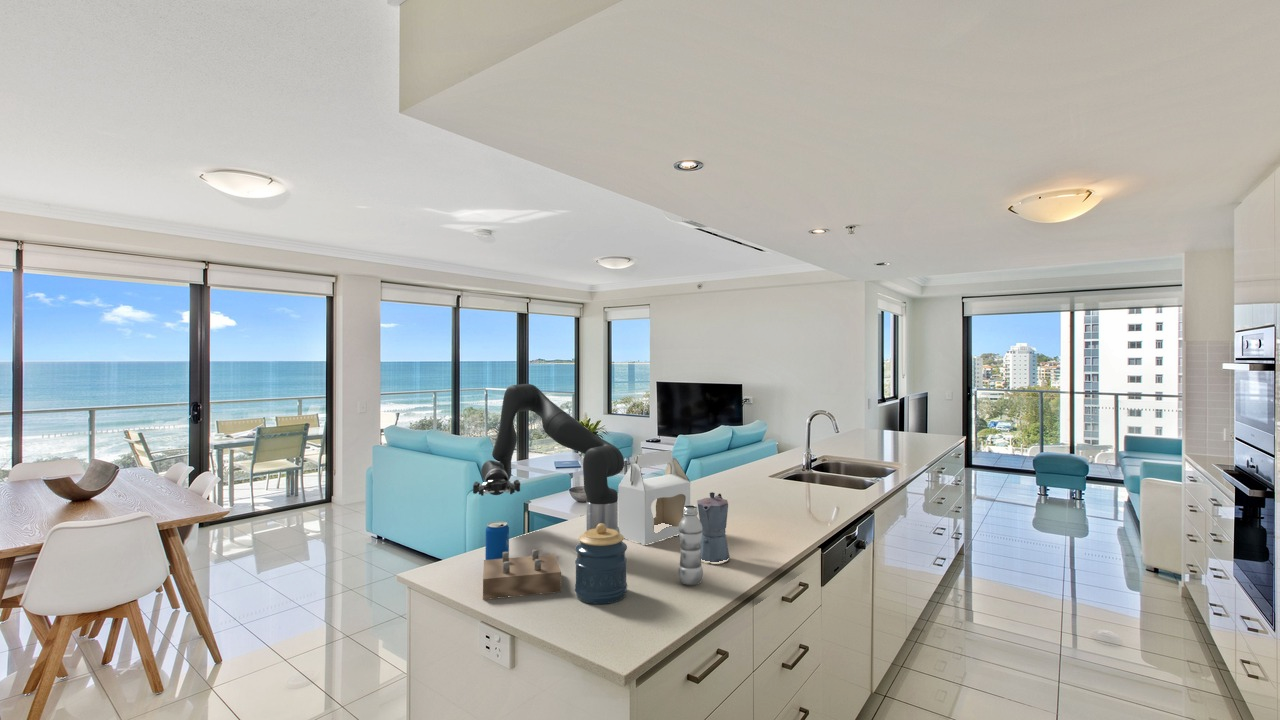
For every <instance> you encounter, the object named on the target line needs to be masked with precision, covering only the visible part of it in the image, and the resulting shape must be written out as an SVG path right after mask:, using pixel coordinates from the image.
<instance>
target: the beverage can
mask: <svg viewBox="0 0 1280 720" xmlns="http://www.w3.org/2000/svg"><path fill="white" fill-rule="evenodd" d="M486 525H487V526H486V528H485V553H484V555H485V556H484V557H485V559H484V560H491V559H503V552H509V553H510V527H509V525H508V522H507V521H500V520H499V521H491V522H489V523H486Z"/></svg>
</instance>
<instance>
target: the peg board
mask: <svg viewBox="0 0 1280 720" xmlns="http://www.w3.org/2000/svg"><path fill="white" fill-rule="evenodd" d="M539 551H540V549H532V555H529V556H518V557H517V556H515V557H510V551H509V552H503V559H491V560H485V559H483V573H482V574H483V575H482V600H483V599H485V600H491V599H490V598H495V599H499V598H498V597H505V598H509V597H508V596H515V597H521V596H520V595H525V596H534V595H533V594H535V595H541V594H540V593H545V594H552V593H553V592H555V593H561V592H562V571H561V568H560V564H559V561H558V558H557V556H556V554H554V553H553V554H541V555H539V553H540V552H539Z"/></svg>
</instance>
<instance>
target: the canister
mask: <svg viewBox="0 0 1280 720" xmlns="http://www.w3.org/2000/svg"><path fill="white" fill-rule="evenodd" d="M624 540H625V539H624V536H623V535H622V534H620V533H618V531H616V530H614V529H609V528H606V525H605V524H603V523H599V524H598V525H597V526H596V529H590V530H587V529H586V530H585V531H584V533H582V534H580V535H579V536H578V541H579V543H577V544H576V545H575V548H574V549H575V551H576V553H577V554H576V558H575V560H574V562H575V585H574V591H575V596H576V598H577V599H578V600H579V601H582V602H583V603H587V604H593V605H594V604H595V605H605V604H606V605H607V604H612V603H616V602H619V601H621V600H622V599H624V598H625V597H626V595H627V590H628V583H627V562H628V558H627V557H626V551H627V550H628V546H627V544H626V543H625V542H624Z"/></svg>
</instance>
